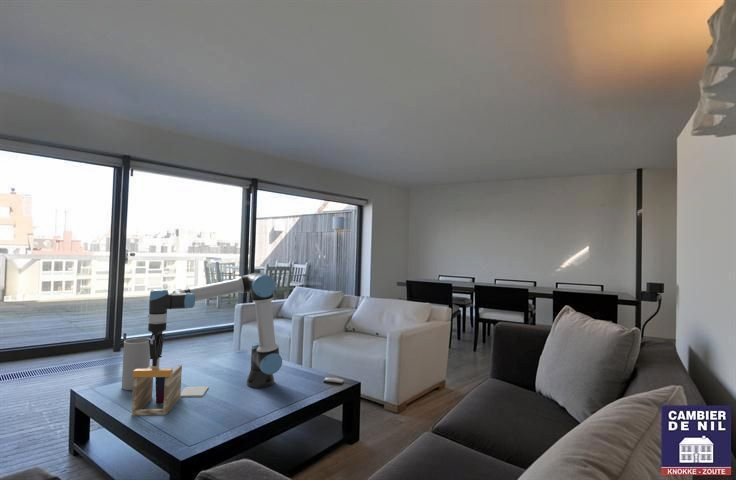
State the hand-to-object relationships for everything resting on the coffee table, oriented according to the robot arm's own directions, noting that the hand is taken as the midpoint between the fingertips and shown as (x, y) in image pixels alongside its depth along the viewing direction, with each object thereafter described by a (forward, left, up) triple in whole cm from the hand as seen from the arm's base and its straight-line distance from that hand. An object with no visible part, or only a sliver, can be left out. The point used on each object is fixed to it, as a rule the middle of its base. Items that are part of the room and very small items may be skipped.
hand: (155, 372), depth 179 cm
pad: (-12, -21, -18) cm, 30 cm away
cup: (0, -10, -18) cm, 21 cm away
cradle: (0, -5, -18) cm, 19 cm away
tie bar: (0, +2, -1) cm, 3 cm away
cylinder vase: (+21, -31, -18) cm, 42 cm away
